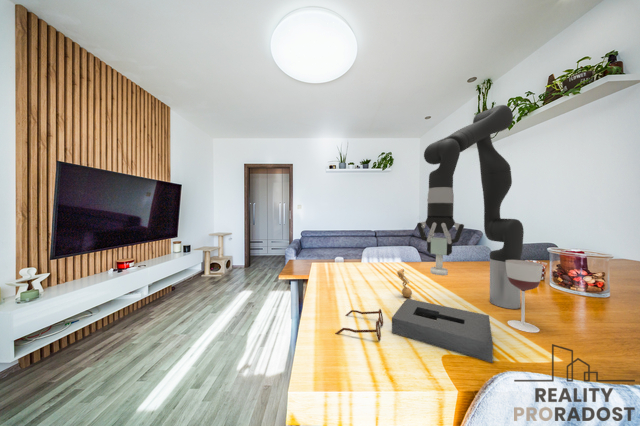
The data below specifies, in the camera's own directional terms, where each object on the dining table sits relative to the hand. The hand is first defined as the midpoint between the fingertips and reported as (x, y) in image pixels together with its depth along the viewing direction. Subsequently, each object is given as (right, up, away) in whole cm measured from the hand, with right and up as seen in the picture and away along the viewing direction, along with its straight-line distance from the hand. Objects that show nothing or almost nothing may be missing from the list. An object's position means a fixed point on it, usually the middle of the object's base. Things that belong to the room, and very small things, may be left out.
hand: (439, 254), depth 74 cm
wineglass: (+25, -22, -3) cm, 34 cm away
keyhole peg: (0, -6, 0) cm, 6 cm away
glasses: (-26, -23, -3) cm, 35 cm away
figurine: (-3, -22, +21) cm, 31 cm away
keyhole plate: (-3, -22, -6) cm, 23 cm away
